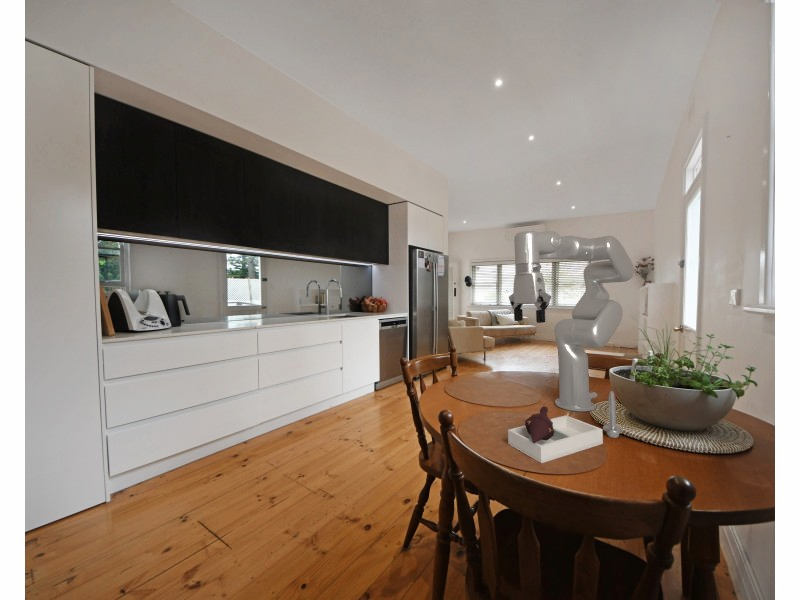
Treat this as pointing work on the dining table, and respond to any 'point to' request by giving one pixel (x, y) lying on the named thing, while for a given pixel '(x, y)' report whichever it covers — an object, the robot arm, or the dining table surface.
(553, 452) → the white divided tray
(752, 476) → the dining table surface
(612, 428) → the screw
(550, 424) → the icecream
